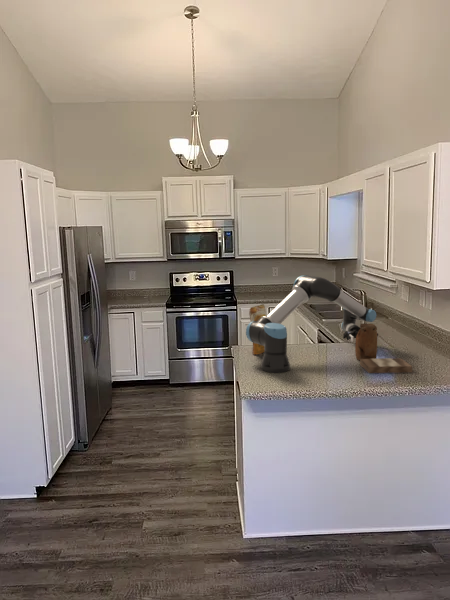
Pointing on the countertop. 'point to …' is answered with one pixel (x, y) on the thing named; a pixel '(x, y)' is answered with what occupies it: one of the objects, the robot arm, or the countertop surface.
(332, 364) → the countertop surface
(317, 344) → the countertop surface
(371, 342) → the catalogued terracotta fragment
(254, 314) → the pancake mix bag
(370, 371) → the plinth
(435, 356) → the countertop surface
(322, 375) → the countertop surface
